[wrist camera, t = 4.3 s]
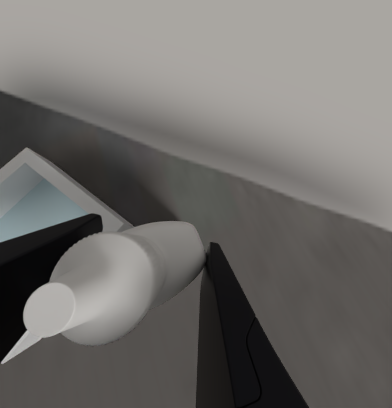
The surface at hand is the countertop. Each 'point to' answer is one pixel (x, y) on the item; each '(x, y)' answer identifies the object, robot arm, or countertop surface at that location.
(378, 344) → the countertop surface
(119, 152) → the countertop surface
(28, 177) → the square tray
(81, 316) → the eye dropper bottle
